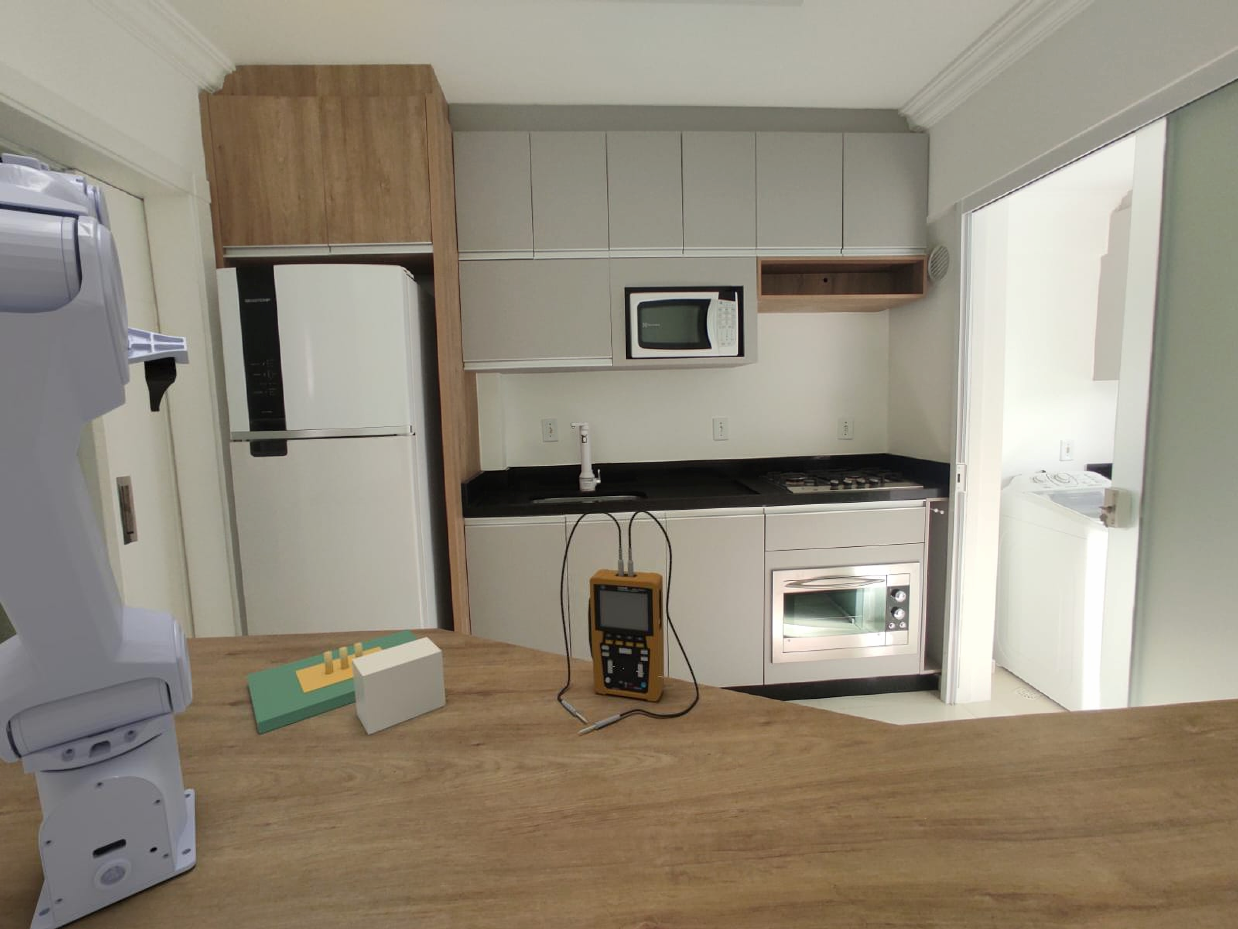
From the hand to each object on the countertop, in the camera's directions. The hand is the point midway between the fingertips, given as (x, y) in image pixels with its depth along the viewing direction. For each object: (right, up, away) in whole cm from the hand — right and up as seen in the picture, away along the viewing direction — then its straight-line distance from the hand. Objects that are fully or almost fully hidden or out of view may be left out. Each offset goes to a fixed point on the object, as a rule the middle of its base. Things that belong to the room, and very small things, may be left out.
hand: (107, 406), depth 57 cm
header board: (+22, -31, +6) cm, 39 cm away
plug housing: (+31, -32, -1) cm, 44 cm away
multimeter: (+54, -31, -2) cm, 62 cm away
